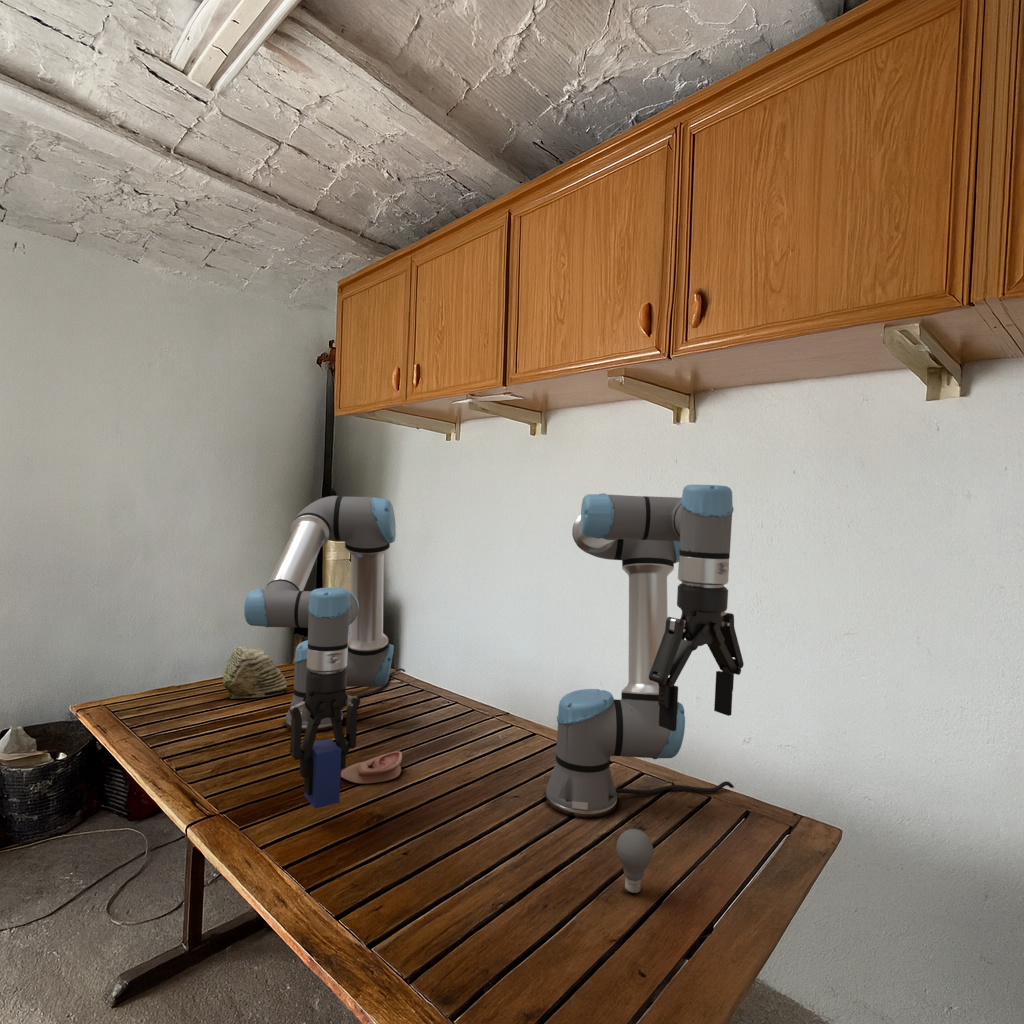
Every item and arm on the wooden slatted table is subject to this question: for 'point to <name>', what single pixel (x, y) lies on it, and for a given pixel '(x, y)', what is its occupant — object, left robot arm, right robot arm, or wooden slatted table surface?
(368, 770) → the anatomical model
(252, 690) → the fossil
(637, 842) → the light bulb
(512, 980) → the wooden slatted table surface
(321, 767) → the brick
